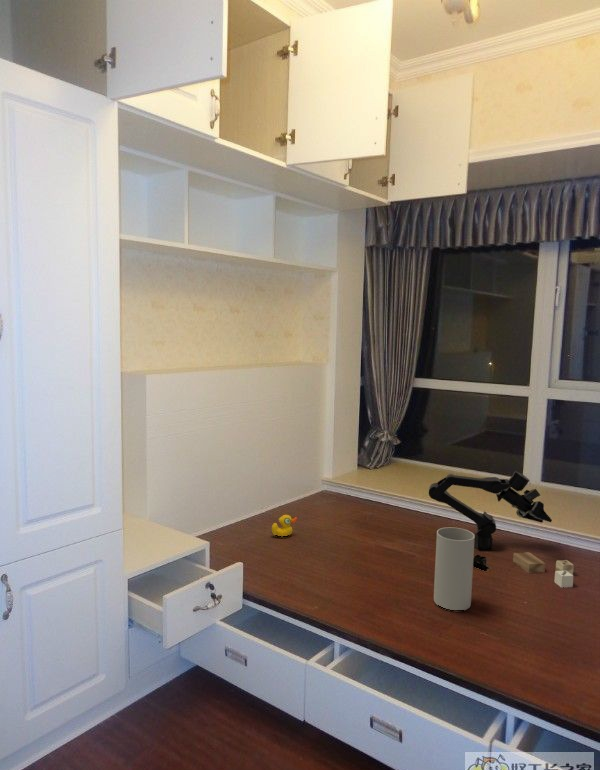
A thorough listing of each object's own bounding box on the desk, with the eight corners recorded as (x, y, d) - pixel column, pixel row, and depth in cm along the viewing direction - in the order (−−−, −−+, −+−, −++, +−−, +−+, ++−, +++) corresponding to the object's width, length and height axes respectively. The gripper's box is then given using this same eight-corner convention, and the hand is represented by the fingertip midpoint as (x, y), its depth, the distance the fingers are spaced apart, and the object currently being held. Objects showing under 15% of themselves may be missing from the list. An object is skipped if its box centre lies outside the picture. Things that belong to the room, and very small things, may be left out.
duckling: (295, 533, 260) (295, 512, 259) (297, 538, 255) (298, 516, 254) (270, 535, 258) (270, 513, 257) (272, 539, 253) (272, 517, 252)
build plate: (498, 570, 227) (498, 559, 227) (488, 576, 222) (489, 564, 222) (470, 560, 236) (470, 549, 236) (460, 565, 231) (461, 554, 231)
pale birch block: (562, 576, 222) (563, 565, 221) (555, 571, 226) (556, 560, 226) (572, 576, 223) (573, 564, 222) (566, 571, 227) (566, 559, 226)
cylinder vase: (464, 616, 190) (468, 543, 187) (428, 605, 196) (431, 535, 194) (474, 600, 200) (478, 532, 198) (440, 591, 207) (443, 524, 204)
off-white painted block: (561, 587, 212) (562, 575, 212) (554, 582, 217) (555, 570, 216) (572, 587, 213) (573, 575, 212) (565, 581, 217) (566, 570, 217)
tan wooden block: (528, 574, 224) (529, 564, 223) (513, 562, 235) (513, 553, 234) (544, 573, 225) (545, 563, 225) (528, 561, 236) (529, 552, 235)
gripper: (533, 481, 235) (566, 504, 233) (517, 485, 253) (547, 506, 251) (518, 503, 233) (552, 527, 230) (503, 506, 251) (534, 527, 248)
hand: (546, 521), depth 240 cm, fingers open, 9 cm apart
